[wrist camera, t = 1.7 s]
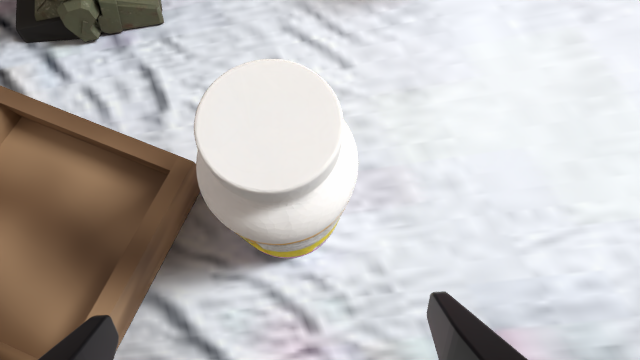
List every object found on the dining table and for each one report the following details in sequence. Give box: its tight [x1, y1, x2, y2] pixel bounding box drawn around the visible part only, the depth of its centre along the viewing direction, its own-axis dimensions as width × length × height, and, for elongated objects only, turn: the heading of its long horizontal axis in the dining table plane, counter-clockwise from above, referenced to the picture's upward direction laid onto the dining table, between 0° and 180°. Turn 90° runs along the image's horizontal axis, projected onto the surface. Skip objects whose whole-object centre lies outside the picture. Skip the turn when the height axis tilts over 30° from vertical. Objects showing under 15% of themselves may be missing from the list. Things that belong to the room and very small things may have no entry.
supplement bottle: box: [194, 59, 358, 258], centre depth 17 cm, size 7×7×13 cm
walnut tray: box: [0, 86, 200, 360], centre depth 20 cm, size 14×14×3 cm
